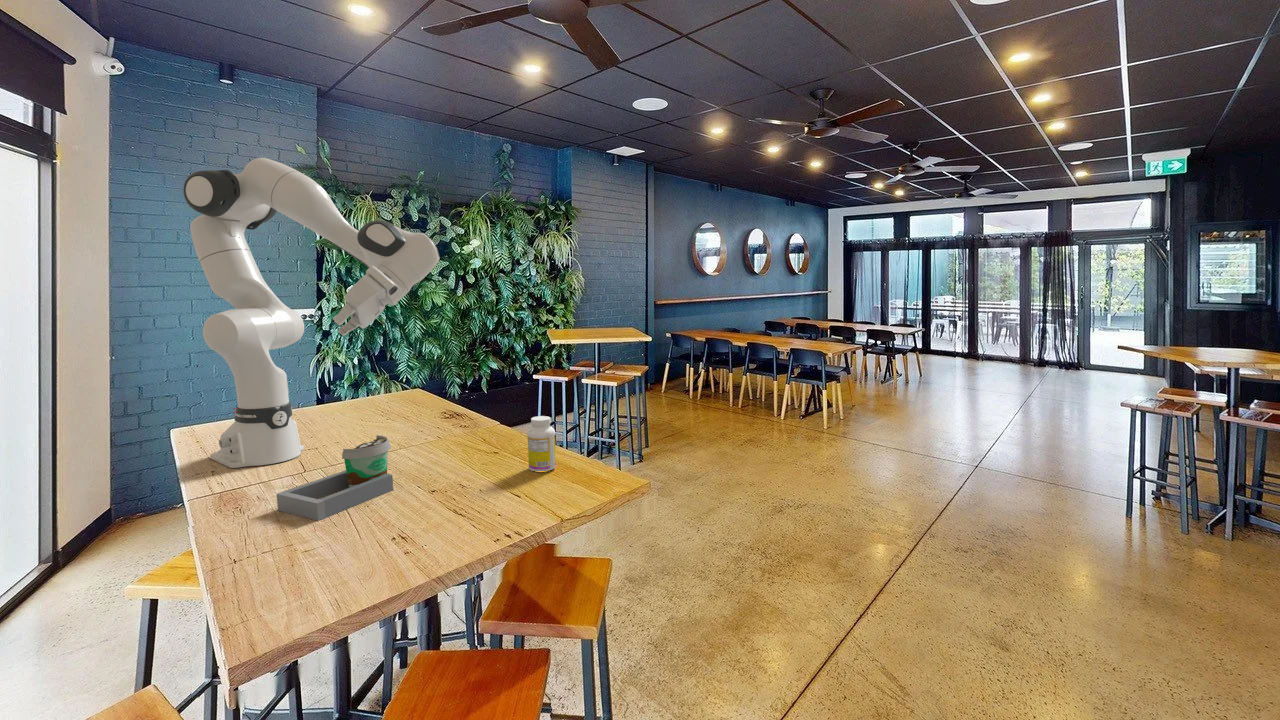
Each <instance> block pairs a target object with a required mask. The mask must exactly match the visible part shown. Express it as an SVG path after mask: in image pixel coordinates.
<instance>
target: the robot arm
mask: <svg viewBox="0 0 1280 720" xmlns="http://www.w3.org/2000/svg"><path fill="white" fill-rule="evenodd" d="M182 188H183V189H182V191H183V192H182V193H183V196H184V199H185V201H186V203H187V205H188V206H189V207H190V208H191V209H193V210H194V211H196V212H197V213H199V214H200V215H199V216H198V217H196V218H194V219H192V222H191V223H190V228H189V229H190V235H191V240H192V244H193V247H194V250H195V254H196V256H197V259H198V261H199V263H200V266H201V268H202V271H203V273H204V275H205V277H206V279H207V282H208V284H209V287H210V289H211V290H212V292H213V293H214V294H215V295H216V296H218V298H221V299H223V300H225V301H226V302H228V303H229V304H230V305H231V306H232V307H233V308H231V309H227V310H224V311H221V312H218V313H215V314H211V315H210V316H209V317H208V318H207V319H206V320H205V322H204V324H203V327H202V336H203V338H204V339H203V340H204V341H205V344H206V345H207V346H208V348H209V349H211V350H212V351H213V352H216V353H217V354H218V355H220V356H221V357H222V358H223V359H224V360H225V362H226V364H227V365H228V367H229V369H230V371H231V373H232V375H233V379H234V384H235V390H236V399H237V407H234V408H232V410H234V411H233V414H234V418H233V419H234V422H233V423H232V424H231V425H230V426H229V427H228V428H227V429H226V430H225V431H224V432H222V433H221V434H220V438H219V439H218V445H219V448H220V450H218V451H215V452H213V453H211V454H209V459H211V460H213V461H215V462H217V463H218V464H221V465H223V466H226V467H228V468H229V469H237V468H245V467H255V466H267V465H272V464H277V463H281V462H286V461H289V460H292V459H295V458H297V457H299V456H301V454H302V451H303V450H304V449H305V445H304V444H301V442H300V435H299V431H298V426H297V421H296V420H295V419H294V418H292V416H293V406H292V402H291V401H290V398H289V386H288V385H289V384H288V375H287V373H286V372H285V370H284V369H283V368H280V367H278V366H277V365H276V364H275V363H274V361H273V359H272V357H271V355H270V351H272V350H277V349H283V348H286V347H288V346H290V345H293V344H295V343H297V342H298V341H300V340H301V339H302V337H303V335H304V333H305V322H304V319H303V318H302V317H301V315H300V314H299V313H298V312H297V311H295V310H294V309H291V308H290V307H288V306H287V305H286V304H284V303H283V302H282V301H281V300H280V299H279V297H277V295H276V294H275V293H274V292H273V290H272V288H270V287H269V285H268V284H267V282H266V281H265V280H264V277H263V275H262V273H261V271H260V269H259V267H258V265H257V262H256V261H255V258H254V256H253V253H252V250H251V249H250V247H249V245H248V243H247V240H246V236H245V231H246V230H252V231H253V230H256V229H258V228H259V226H261V225H262V224H264V223H266V222H268V221H270V220H271V219H273V218H274V217H275V215H276V214H277V212H278V213H280V214H282V215H284V216H285V217H287V218H289V219H290V220H293V221H294V222H296V223H298V224H299V225H302V226H303V227H305V228H307V229H309V230H310V231H312V232H314V234H317V235H319V236H320V237H322V238H324V239H325V240H327V241H329V242H330V243H331V244H333V245H334V246H335V247H338V248H339V249H341V250H342V251H344V252H345V253H347V254H349V255H350V256H352V257H353V258H355V259H356V260H358V261H360V263H362V264H364V265H365V267H367V268H368V269H366V271H365V275H363V276H362V277H361V278H359V280H358V281H357V282H356V283H354V284H353V286H351V287H350V289H349V290H348V291H347V292H346V294H345V295H344V299H345V302H346V304H345V305H343V307H342V308H340V309H341V310H340V311H339V312H338V314H336V315H335V316H334V317H333V321H334V323H335V324H337V326H340V327H339V328H338V330H337V331H338V333H339V334H340V335H342V336H346V335H348V334H349V333H350V332H352V331H353V330H355V329H357V328H358V327H359V328H361V329H362V330H364V329H366V328H367V327H369V326H370V325H371V324H372V323H373V322H374V321H375V320H376V319H377V318H378V317H379V316H380V315H381V314H382V313H383V312H384V310H385V309H386V306H387V305H389V306H392V307H393V306H395V305H396V304H397V303H398V302H399V301H400V300H402V299H403V298H404V297H405V296H406V295H407V294H408V293H409V292H410V291H411V289H412V288H413V286H414V285H416V284H418V283H420V282H421V281H422V280H423V279H425V278H426V277H427V275H429V274H430V272H432V271H433V269H435V267H436V266H437V264H438V263H439V261H440V253H439V250H438V247H437V246H436V244H435V242H434V241H433V239H431V238H430V236H429V235H427V234H426V233H424V232H412V231H408V230H404V229H402V228H400V227H397V226H395V225H393V224H392V223H391V222H389V221H387V220H382V219H378V220H371V221H368V222H367V223H365V224H364V225H363V226H361V228H359V229H356V228H355V227H354V226H352V225H351V224H350V223H349V221H347V220H346V218H344V216H343V215H342V214H341V212H340V211H339V209H338V208H337V206H336V205H335V203H334V202H333V200H332V198H331V197H330V195H329V193H328V192H327V191H326V190H325V189H324V188H323V187H322V186H321V185H320V184H319V183H318V182H316V181H315V180H314V179H312V178H311V177H309V176H308V175H307V174H305V173H302V172H300V171H299V170H297V169H295V168H293V167H291V166H289V165H287V164H284V163H281V162H279V161H276V160H273V159H271V158H266V157H257V158H254V159H252V160H250V161H249V162H248V163H247V164H246V165H245V167H244V169H243V170H242V172H239V173H233V172H232V171H230V170H229V169H217V170H215V169H212V170H211V169H210V170H209V169H208V170H207V169H206V170H199V171H195V172H192V173H191V174H190V175H188V177H187V178H186V179H185V181H184V184H183V187H182ZM350 316H351V318H350V319H349V320H348V322H346V321H347V319H348V318H349V317H350ZM345 322H346V323H345ZM344 323H345V324H344Z"/></svg>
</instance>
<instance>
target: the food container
mask: <svg viewBox="0 0 1280 720" xmlns="http://www.w3.org/2000/svg"><path fill="white" fill-rule="evenodd" d="M375 436H376V439H374V440H372V441H369V442H364V443H363V442H362V443H360V444H359V445H356V447H355V448H354V447H353V448H343V449H342V453H341V454H342V455H341V459H342V460H344V466H345V470H346V473H347V479H348V486H349V487H348V488H351V487H353V486H356V485H359V484H361V483H364V482H367V481H369V480H372V479H375V478H377V477H380V476H383V475H385V474H388V461H389V460H388V459H389V458H388V455H389V452H388V451H390V450H391V449H392V447H391V444H390V443H391V442H390V440H389V439H388V437H386V436H384V435H378V434H376V435H375Z"/></svg>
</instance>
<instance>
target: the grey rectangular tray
mask: <svg viewBox="0 0 1280 720" xmlns="http://www.w3.org/2000/svg"><path fill="white" fill-rule="evenodd" d="M393 481H394V479H393V474H391V473H387V474H385V475H383V476H380V477H377V478H375V479H372V480H369V481H367V482H364V483H361V484H359V485H356V486H353V487H351V488H349V486H348V479H347V473H346V469H345V470H343V471H339V472H337V473H334V474H330V475H328V476H325V477H322V478H318V479H315V480H313V481H310V482H307V483H304V484H301V485H298V486H296V487H293V488H290V489H286V490H283V491H281V492H278V493H276V501H277V503H276V505H277V511H279V512H283V513H287V514H291V515H294V516H298V517H303V518H306V519H310V520H313V521H314V520H315V521H317V522H319V521H322V520H323V519H327V518H328V517H331V516H333V515H336V514H338V513H341V512H342V511H343V512H344V511H345V510H348V509H350V508H353V507H355V506H357V505H360V504H362V503H366V502H367V501H369V500H372V499H375V498H377V497H379V496H382V495H385V494H387V493H389V492H392V491H394V482H393Z"/></svg>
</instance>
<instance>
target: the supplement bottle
mask: <svg viewBox="0 0 1280 720" xmlns="http://www.w3.org/2000/svg"><path fill="white" fill-rule="evenodd" d="M530 423H531V428H529V429H528V430H527V452H528V454H527V456H528V458H527V459H528V470H531V471H530V472H532V471H548V470H552V469H554V468H555V467H556V468H557V459H556V458H557V455H556V454H557V451H556V450H557V449H556V447H557V446H556V430H555V428H553V427H552V426H551V423H552V420H551V417H550V416H546V415H537V416H533V417H531V418H530ZM556 468H555V469H556ZM555 469H554V470H555ZM552 471H553V470H552Z"/></svg>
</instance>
